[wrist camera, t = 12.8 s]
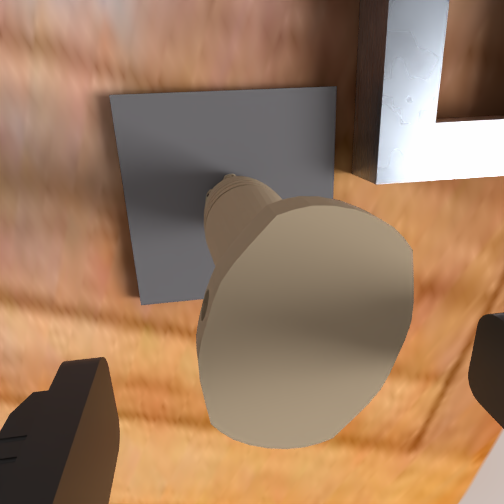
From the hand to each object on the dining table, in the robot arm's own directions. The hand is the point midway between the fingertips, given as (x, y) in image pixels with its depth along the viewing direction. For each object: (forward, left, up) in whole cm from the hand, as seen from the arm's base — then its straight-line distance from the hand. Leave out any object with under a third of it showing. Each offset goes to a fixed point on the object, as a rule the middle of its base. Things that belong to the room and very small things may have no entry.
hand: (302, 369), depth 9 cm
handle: (0, 0, -16) cm, 16 cm away
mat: (0, 0, -17) cm, 17 cm away
